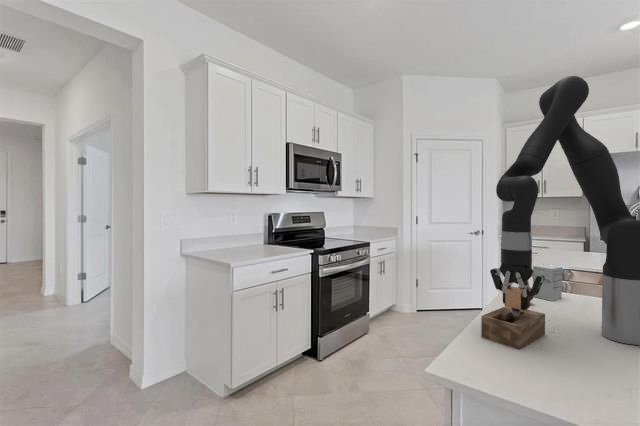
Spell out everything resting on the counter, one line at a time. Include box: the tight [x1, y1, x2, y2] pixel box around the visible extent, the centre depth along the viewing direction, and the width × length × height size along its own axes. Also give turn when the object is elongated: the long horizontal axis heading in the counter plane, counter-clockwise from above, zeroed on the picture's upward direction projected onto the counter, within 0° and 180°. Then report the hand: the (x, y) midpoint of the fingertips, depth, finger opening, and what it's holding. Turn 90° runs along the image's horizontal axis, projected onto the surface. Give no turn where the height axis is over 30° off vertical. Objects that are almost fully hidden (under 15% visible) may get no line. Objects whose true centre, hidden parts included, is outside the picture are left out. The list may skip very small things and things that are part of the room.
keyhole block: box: [480, 305, 546, 350], centre depth 93 cm, size 10×16×6 cm, turn 126°
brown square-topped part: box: [504, 286, 523, 323], centre depth 93 cm, size 4×4×13 cm
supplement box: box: [532, 263, 563, 302], centre depth 129 cm, size 7×7×13 cm
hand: (515, 307), depth 93 cm, fingers closed on brown square-topped part, 4 cm apart
